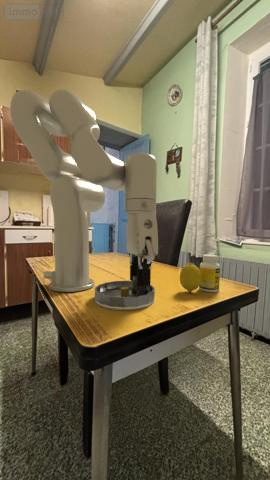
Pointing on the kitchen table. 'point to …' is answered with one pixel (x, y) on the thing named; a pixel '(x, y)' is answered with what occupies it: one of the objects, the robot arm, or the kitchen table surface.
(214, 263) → the supplement bottle
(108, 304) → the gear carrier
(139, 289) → the gear
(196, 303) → the kitchen table surface
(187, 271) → the lemon
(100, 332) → the kitchen table surface
